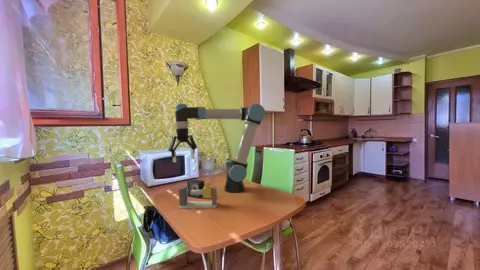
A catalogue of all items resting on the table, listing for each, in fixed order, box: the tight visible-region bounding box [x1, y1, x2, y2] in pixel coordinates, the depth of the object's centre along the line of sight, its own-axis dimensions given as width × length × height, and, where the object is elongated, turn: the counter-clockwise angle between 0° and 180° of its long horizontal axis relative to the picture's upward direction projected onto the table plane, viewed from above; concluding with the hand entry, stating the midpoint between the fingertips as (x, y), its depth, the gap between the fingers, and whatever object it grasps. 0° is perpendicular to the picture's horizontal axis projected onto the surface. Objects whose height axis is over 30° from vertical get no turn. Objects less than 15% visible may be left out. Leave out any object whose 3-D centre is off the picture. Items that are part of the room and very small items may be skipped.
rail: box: [178, 185, 219, 209], centre depth 124 cm, size 22×9×11 cm, turn 88°
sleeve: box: [202, 181, 213, 199], centre depth 123 cm, size 5×5×9 cm
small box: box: [186, 179, 205, 199], centre depth 141 cm, size 11×6×10 cm, turn 62°
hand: (184, 160), depth 133 cm, fingers open, 13 cm apart
